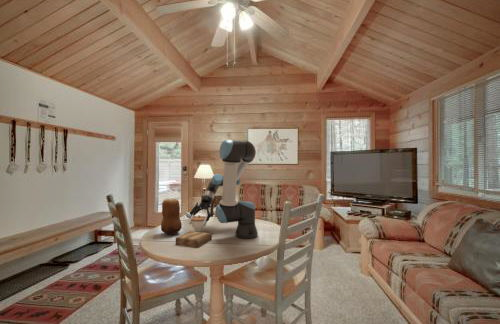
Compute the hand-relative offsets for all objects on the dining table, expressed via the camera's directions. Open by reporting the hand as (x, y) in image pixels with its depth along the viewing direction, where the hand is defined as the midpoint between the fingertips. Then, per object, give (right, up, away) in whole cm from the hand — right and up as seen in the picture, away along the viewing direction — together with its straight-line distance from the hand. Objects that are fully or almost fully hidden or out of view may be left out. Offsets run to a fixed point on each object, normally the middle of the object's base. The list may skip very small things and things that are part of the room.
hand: (196, 224), depth 177 cm
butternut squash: (-18, -8, +2) cm, 20 cm away
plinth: (+1, -8, -15) cm, 17 cm away
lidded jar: (+1, -4, +3) cm, 5 cm away
